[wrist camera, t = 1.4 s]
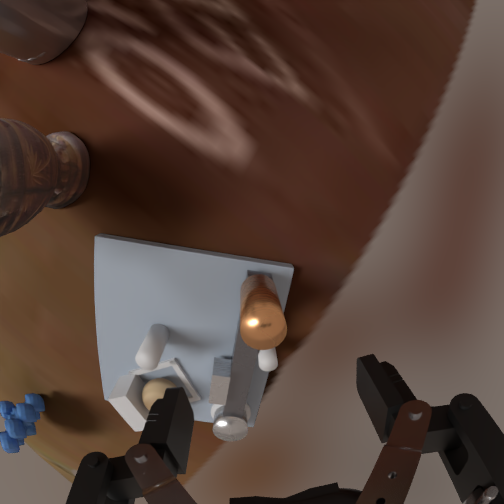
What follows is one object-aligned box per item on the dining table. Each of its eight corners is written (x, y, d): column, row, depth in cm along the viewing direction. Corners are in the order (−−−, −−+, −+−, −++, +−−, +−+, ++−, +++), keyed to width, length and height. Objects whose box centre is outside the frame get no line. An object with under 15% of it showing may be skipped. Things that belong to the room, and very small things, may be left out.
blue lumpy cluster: (26, 358, 30) (-21, 411, 18) (63, 391, 31) (25, 451, 19) (12, 394, 32) (-23, 440, 20) (44, 422, 33) (14, 472, 21)
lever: (244, 426, 30) (245, 482, 22) (205, 422, 30) (199, 478, 22) (281, 269, 25) (298, 313, 17) (228, 261, 25) (223, 303, 17)
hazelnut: (146, 367, 28) (136, 391, 25) (184, 374, 29) (177, 399, 25) (147, 393, 29) (138, 418, 26) (182, 400, 30) (177, 426, 26)
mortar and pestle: (135, 187, 25) (-52, 240, 6) (83, 254, 26) (-68, 363, 7) (62, 111, 22) (-107, 83, 3) (19, 178, 24) (-136, 212, 5)
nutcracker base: (100, 233, 26) (68, 249, 20) (291, 264, 27) (305, 289, 21) (107, 393, 31) (91, 426, 25) (253, 420, 32) (255, 457, 26)
